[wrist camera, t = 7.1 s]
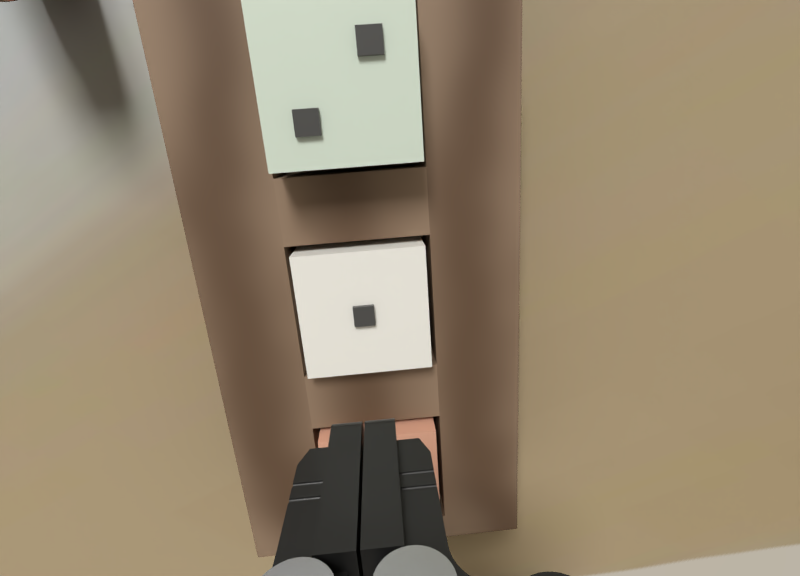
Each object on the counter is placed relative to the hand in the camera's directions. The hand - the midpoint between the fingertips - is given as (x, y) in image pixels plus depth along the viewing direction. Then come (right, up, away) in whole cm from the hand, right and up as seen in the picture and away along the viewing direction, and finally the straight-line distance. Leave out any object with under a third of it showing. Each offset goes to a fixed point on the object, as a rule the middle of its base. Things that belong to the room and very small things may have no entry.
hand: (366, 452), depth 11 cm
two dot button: (-2, +12, +8) cm, 14 cm away
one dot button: (-1, +4, +12) cm, 13 cm away
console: (-1, +4, +14) cm, 15 cm away
